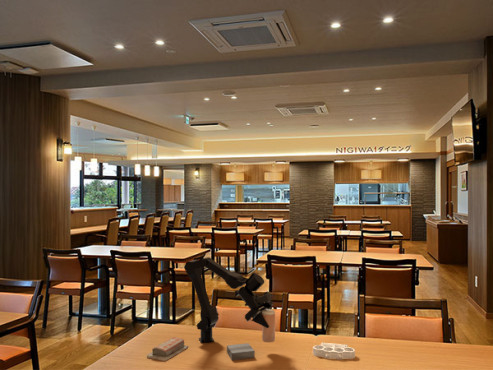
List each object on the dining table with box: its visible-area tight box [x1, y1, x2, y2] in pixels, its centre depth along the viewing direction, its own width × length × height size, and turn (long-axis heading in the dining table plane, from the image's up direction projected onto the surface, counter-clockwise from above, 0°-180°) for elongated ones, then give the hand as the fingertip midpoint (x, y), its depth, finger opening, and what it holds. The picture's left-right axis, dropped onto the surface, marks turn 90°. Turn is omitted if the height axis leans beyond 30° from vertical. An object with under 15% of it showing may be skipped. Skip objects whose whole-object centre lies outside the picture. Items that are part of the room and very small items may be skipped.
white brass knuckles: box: [312, 342, 356, 360], centre depth 191 cm, size 3×18×15 cm
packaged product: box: [146, 336, 189, 362], centre depth 194 cm, size 18×5×10 cm
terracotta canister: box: [261, 308, 276, 343], centre depth 194 cm, size 6×6×13 cm
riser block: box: [226, 342, 256, 361], centre depth 191 cm, size 10×10×3 cm
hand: (271, 325), depth 194 cm, fingers closed on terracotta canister, 6 cm apart
